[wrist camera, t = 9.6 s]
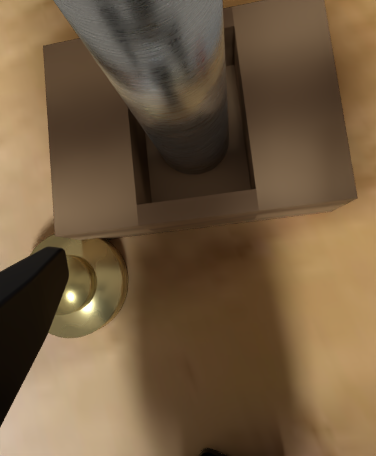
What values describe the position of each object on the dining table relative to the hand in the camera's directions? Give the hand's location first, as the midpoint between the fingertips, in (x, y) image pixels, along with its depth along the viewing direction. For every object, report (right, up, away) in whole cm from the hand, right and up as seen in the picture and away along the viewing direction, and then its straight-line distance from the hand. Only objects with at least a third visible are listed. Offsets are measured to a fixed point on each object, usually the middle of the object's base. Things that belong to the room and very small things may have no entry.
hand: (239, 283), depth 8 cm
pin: (-1, +6, +11) cm, 12 cm away
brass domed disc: (-8, -2, +12) cm, 14 cm away
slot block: (-1, +6, +11) cm, 13 cm away
